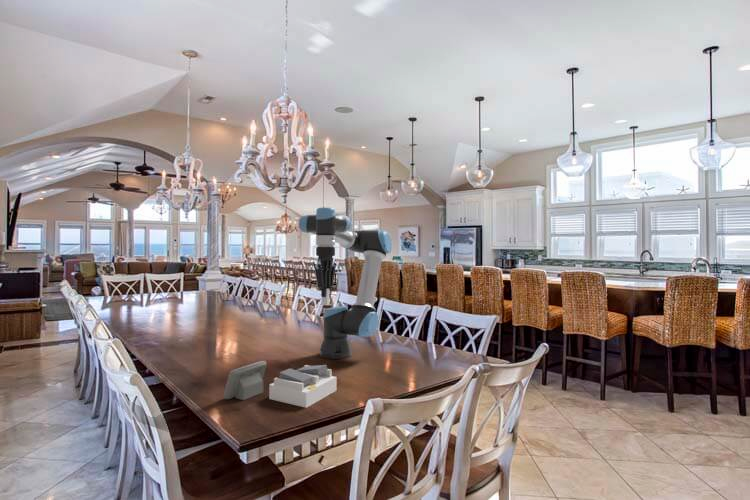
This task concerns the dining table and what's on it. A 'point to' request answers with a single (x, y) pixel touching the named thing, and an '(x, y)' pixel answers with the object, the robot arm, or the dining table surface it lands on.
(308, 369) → the rocker
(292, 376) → the rocker
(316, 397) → the switch unit
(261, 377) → the digital clock
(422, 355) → the dining table surface
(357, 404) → the dining table surface
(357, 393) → the dining table surface
